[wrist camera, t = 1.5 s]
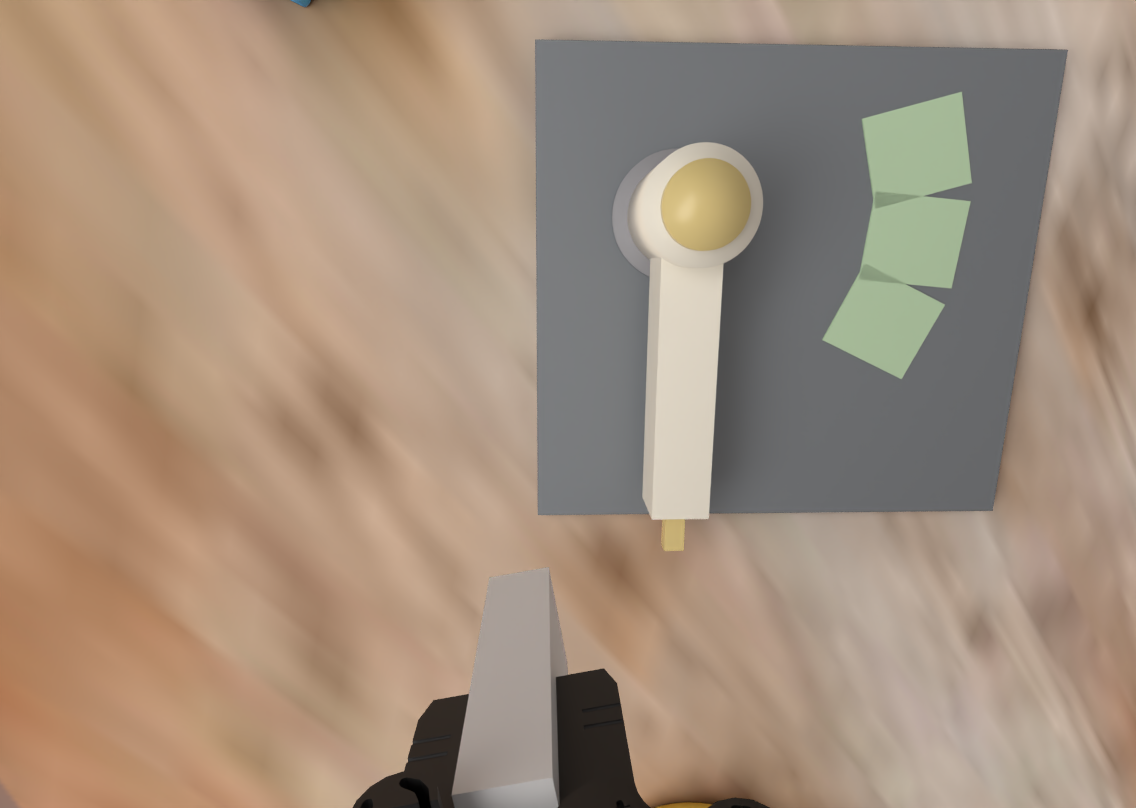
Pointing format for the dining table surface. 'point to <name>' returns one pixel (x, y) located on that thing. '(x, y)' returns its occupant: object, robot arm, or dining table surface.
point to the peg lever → (687, 316)
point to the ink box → (302, 2)
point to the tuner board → (797, 266)
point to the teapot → (686, 805)
